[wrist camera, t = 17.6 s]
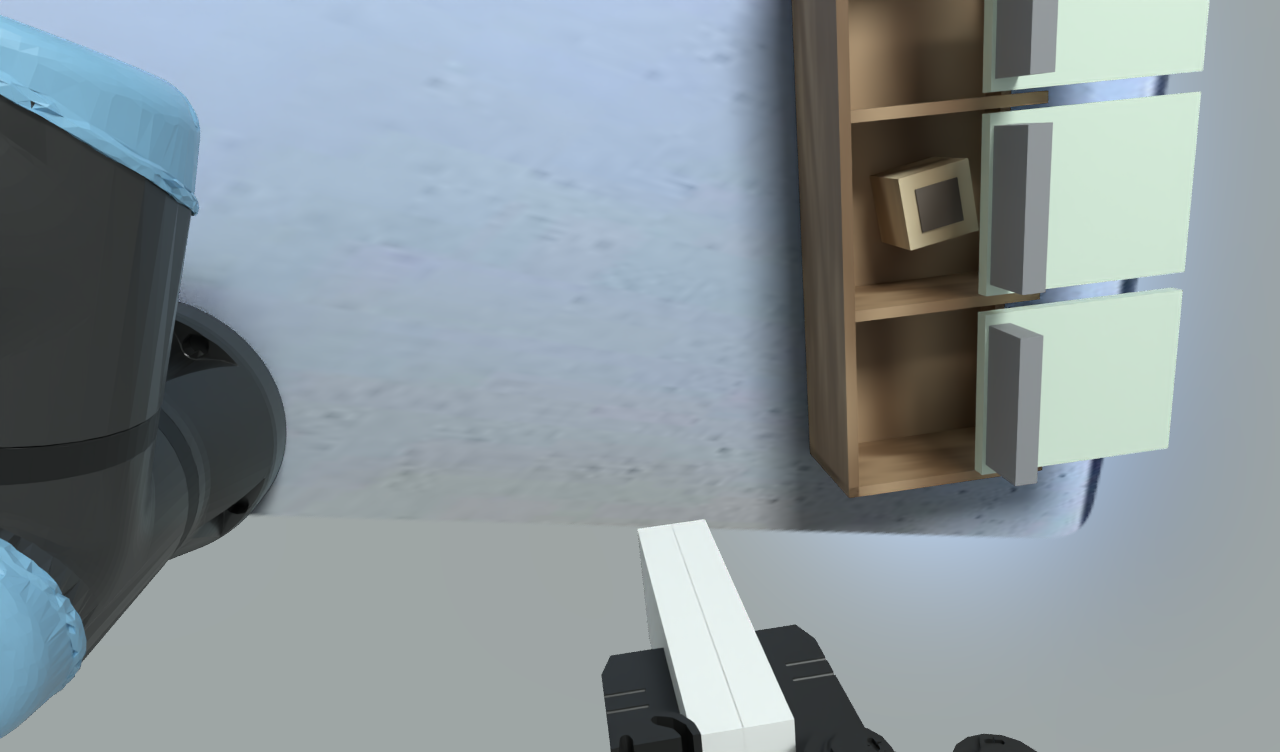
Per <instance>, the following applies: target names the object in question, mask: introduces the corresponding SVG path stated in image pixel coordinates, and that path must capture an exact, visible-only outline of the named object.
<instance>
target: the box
mask: <svg viewBox="0 0 1280 752" xmlns="http://www.w3.org/2000/svg"><path fill="white" fill-rule="evenodd" d="M792 21H793V45H794V70H795V95H796V119H797V144H798V169H799V193H800V218H801V243H802V268H803V292H804V317H805V342H806V366H807V391H808V416H809V440H810V454H811V455H812V456H813V457H814V459H815V460H816V461H817V462H818V463H819V464H820V465H821V467H822V468H823V469H824V470H825V471H826V472H827V473H828V475H829V476H830V477H831V478H832V479H833V480H834V481H835V483H836V484H837V485H838V486H839V487H840V488H841V489H842V491H843V492H844V493H845V494H846V495H847V496H848V497H849V498H854V497H861V496H867V495H874V494H881V493H888V492H895V491H902V490H909V489H916V488H923V487H930V486H937V485H943V484H950V483H957V482H964V481H971V480H978V479H985V478H992V477H999V476H1001V475H999V474H998V473H993V474H986V475H981V474H980V473H979V472H977V471H976V470H975V431H976V383H977V335H978V312H982V311H990V310H998V309H1005V303H1013V302H1021V301H1029V300H1037V299H1040V293H1035V294H1027V295H1020V294H1017V293H1010V294H1002V295H994V296H983V295H981V294H978V289H979V241H980V193H981V146H982V114H987V113H996V112H1006V111H1011V107H1013V106H1023V105H1033V104H1042V103H1048V92H1049V91H1038V92H1027V93H1016V94H1011V90H1008V91H998V92H988V93H983V46H984V0H792ZM931 157H951V158H968V161H969V168H970V174H971V181H972V188H973V194H974V201H975V208H976V214H977V221H978V228H979V230H978V231H974V232H971V233H968V234H964V235H961V236H958V237H954V238H951V239H948V240H944V241H941V242H938V243H934V244H931V245H928V246H924V247H921V248H918V249H914V250H911V251H910V250H907V249H904V248H900V247H897V246H894V245H890V244H887V243H884V242H882V241H881V235H880V230H879V224H878V219H877V214H876V208H875V203H874V198H873V192H872V187H871V181H870V176H871V175H874V174H877V173H881V172H884V171H888V170H891V169H894V168H898V167H901V166H904V165H908V164H911V163H914V162H918V161H921V160H925V159H928V158H931ZM1040 470H1042V466H1041V467H1038V471H1040Z"/></svg>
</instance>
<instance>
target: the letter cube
mask: <svg viewBox="0 0 1280 752" xmlns="http://www.w3.org/2000/svg"><path fill="white" fill-rule="evenodd" d="M870 181H871V187H872V192H873V198H874V203H875V208H876V214H877V219H878V224H879V230H880V235H881V241H882V242H884V243H887V244H890V245H894V246H897V247H900V248H904V249H907V250H910V251H911V250H914V249H918V248H921V247H924V246H928V245H931V244H934V243H938V242H941V241H944V240H948V239H951V238H954V237H958V236H961V235H964V234H968V233H971V232H974V231H978V230H979V228H978V221H977V214H976V208H975V201H974V194H973V188H972V181H971V174H970V168H969V161H968V158H951V157H931V158H928V159H925V160H921V161H918V162H914V163H911V164H908V165H904V166H901V167H898V168H894V169H891V170H888V171H884V172H881V173H877V174H874V175H871V176H870Z"/></svg>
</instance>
